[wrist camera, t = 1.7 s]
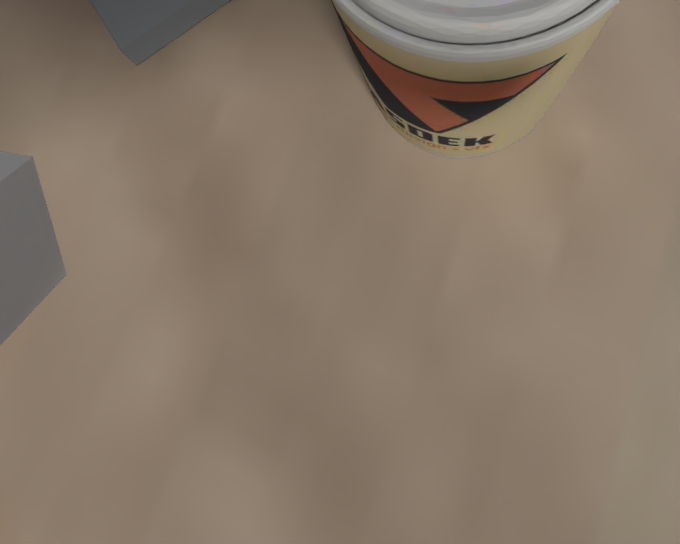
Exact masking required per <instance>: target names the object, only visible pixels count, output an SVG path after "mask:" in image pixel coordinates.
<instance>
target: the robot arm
mask: <svg viewBox="0 0 680 544" xmlns="http://www.w3.org/2000/svg"><path fill="white" fill-rule="evenodd" d="M66 275H67V274H66V270H65V267H64V263H63V260H62V256H61V253H60V250H59V246H58V243H57V239H56V236H55V232H54V229H53V225H52V222H51V218H50V215H49V211H48V208H47V204H46V201H45V198H44V194H43V191H42V187H41V184H40V180H39V177H38V173H37V170H36V166H35V163H34V159H33V157H31V156H25V155H19V154H14V153H8V152H2V151H0V345H1V344H2V343H3V342H4V341H5V340H6V339H7V338H8V337H9V336H10V335H11V333H12V332H13V331H14V330H15V329H16V328H17V327H18V326H19V325H20V324H21V323H22V322H23V321H24V320H25V318H26V317H27V316H28V315H29V314H30V313H31V312H32V311H33V310H34V309H35V308H36V307H37V306H38V305H39V303H40V302H41V301H42V300H43V299H44V298H45V297H46V296H47V295H48V294H49V293H50V292H51V291H52V290H53V288H54V287H55V286H56V285H57V284H58V283H59V282H60V281H61V280H62V279H63V278H64V277H65V276H66Z"/></svg>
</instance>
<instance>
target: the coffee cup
mask: <svg viewBox="0 0 680 544" xmlns="http://www.w3.org/2000/svg"><path fill="white" fill-rule="evenodd" d="M331 1H332V3H333V6H334V8H335V10H336V13H337V15H338V18H339V20H340V22H341V25H342V27H343V29H344V31H345V34H346V36H347V38H348V40H349V43H350V45H351V47H352V49H353V52H354V54H355V56H356V59H357V61H358V63H359V65H360V68H361V70H362V72H363V74H364V77H365V79H366V81H367V83H368V86H369V88H370V90H371V92H372V94H373V96H374V99H375V101H376V103H377V104H378V106H379V108H380V110H381V112H382V114H383V115H384V117H385V118H386V120H387V121H388V123H389V124H390V125H391V126H392V127H393V129H394V130H395V131H396V132H397V133H399V134H400V135H401V136H402V137H403V138H405V139H406V140H407V141H409V142H410V143H412V144H414V145H415V146H417V147H419V148H421V149H423V150H426V151H428V152H431V153H434V154H438V155H442V156H447V157H459V158H465V157H476V156H482V155H486V154H490V153H493V152H496V151H498V150H501V149H503V148H505V147H507V146H509V145H511V144H513V143H514V142H516V141H518V140H519V139H520V138H522V137H523V136H524V135H526V134H527V133H528V132H529V131H530V130H531V129H532V128H533V127H534V126H535V125H536V124H537V123H538V122H539V120H540V119H541V118H542V117H543V115H544V114H545V113H546V111H547V110H548V109H549V107H550V106H551V105H552V103H553V102H554V100H555V99H556V97H557V96H558V94H559V93H560V91H561V90H562V88H563V87H564V85H565V84H566V82H567V81H568V79H569V78H570V76H571V75H572V73H573V72H574V70H575V69H576V67H577V66H578V64H579V63H580V61H581V60H582V58H583V57H584V55H585V54H586V52H587V51H588V49H589V48H590V46H591V45H592V43H593V42H594V40H595V39H596V37H597V36H598V34H599V33H600V31H601V30H602V28H603V27H604V25H605V23H606V22H607V20H608V19H609V17H610V15H611V14H612V12H613V11H614V9H615V7H616V6H617V4H618V3H619V1H620V0H331Z"/></svg>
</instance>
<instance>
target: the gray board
mask: <svg viewBox="0 0 680 544" xmlns="http://www.w3.org/2000/svg"><path fill="white" fill-rule="evenodd" d="M90 1H91V3H92V5H93V6H94V8H95V9H96V11H97V13H98V14H99V16H100V18H101V19H102V21H103V22H104V24H105V26H106V27H107V29H108V31H109V32H110V34H111V36H112V37H113V39H114V40H115V42H116V44H117V45H118V47H119V49H120V50H121V51H122V52H123V53H124V54H125V55H126V56H127V57H128V58H129V59H130V60H131V61H132V62H133V63H134V64H135V65H136V66H137V65H138V64H140V63H141V62H142V61H144V60H145V59H147V58H148V57H150V56H151V55H152V54H154V53H155V52H157V51H158V50H160V49H161V48H163V47H164V46H165V45H167V44H168V43H170V42H171V41H173V40H174V39H176V38H177V37H178V36H180V35H181V34H183V33H184V32H186V31H187V30H188V29H190V28H191V27H193V26H194V25H196V24H197V23H199V22H200V21H201V20H203V19H204V18H206V17H207V16H209V15H210V14H212V13H213V12H214V11H216V10H217V9H219V8H220V7H222V6H223V5H225V4H226V3H227V2H229V1H230V0H90Z"/></svg>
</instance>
